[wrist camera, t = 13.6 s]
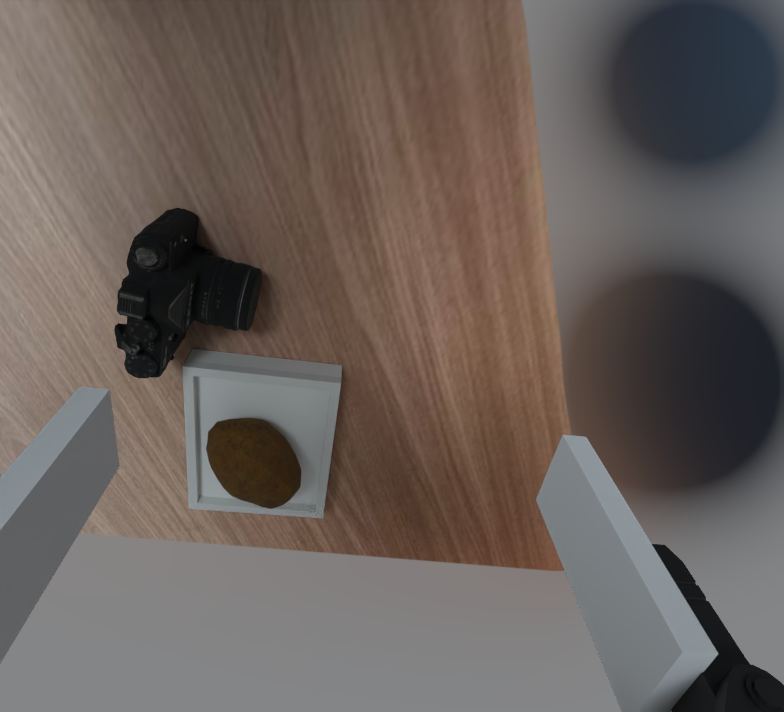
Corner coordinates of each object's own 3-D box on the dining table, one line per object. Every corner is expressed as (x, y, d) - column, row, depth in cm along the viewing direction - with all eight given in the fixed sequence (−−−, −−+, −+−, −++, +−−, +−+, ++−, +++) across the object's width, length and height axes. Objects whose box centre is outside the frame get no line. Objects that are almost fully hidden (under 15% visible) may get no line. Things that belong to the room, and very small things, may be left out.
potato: (276, 488, 61) (266, 540, 55) (193, 429, 56) (170, 478, 50) (324, 452, 59) (319, 502, 52) (241, 387, 54) (224, 433, 47)
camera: (247, 355, 55) (226, 409, 46) (145, 329, 53) (103, 381, 44) (274, 234, 49) (255, 270, 40) (159, 200, 47) (112, 230, 38)
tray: (193, 348, 54) (182, 366, 51) (342, 365, 56) (341, 383, 53) (197, 486, 64) (188, 508, 61) (324, 496, 66) (322, 518, 63)
